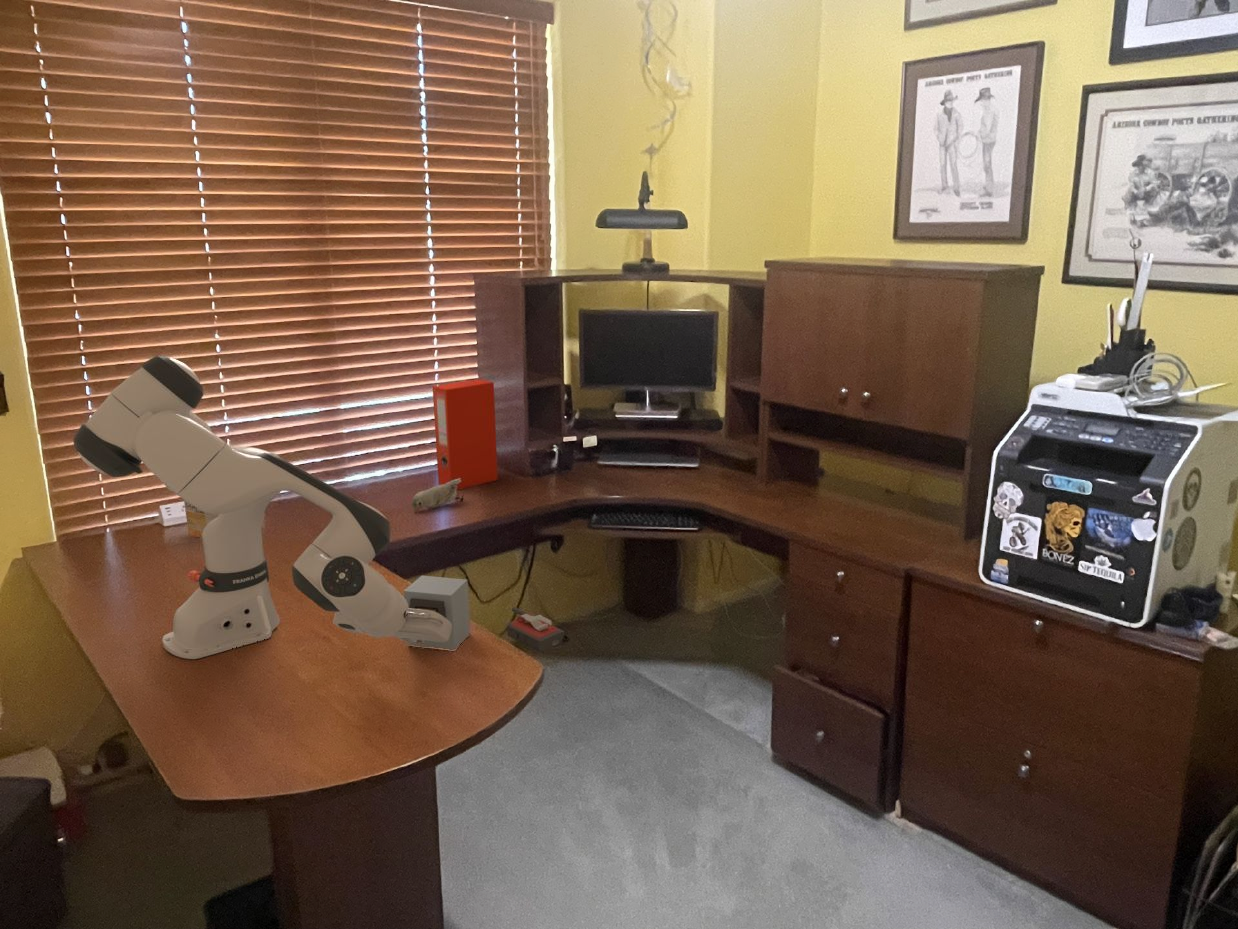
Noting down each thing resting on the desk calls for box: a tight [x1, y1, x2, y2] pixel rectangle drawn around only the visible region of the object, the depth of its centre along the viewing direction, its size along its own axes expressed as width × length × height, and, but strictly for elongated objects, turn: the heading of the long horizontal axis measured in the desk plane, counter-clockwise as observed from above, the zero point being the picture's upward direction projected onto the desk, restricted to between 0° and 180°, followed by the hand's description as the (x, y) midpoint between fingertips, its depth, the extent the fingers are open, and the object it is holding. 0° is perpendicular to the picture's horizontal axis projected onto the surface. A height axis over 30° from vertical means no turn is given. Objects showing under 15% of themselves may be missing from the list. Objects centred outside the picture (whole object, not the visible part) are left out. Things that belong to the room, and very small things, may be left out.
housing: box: [403, 575, 472, 650], centre depth 181 cm, size 9×10×12 cm
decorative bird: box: [411, 478, 464, 514], centre depth 266 cm, size 5×16×8 cm, turn 130°
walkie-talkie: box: [506, 606, 571, 653], centre depth 186 cm, size 9×4×20 cm
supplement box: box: [183, 499, 219, 539], centre depth 244 cm, size 8×5×13 cm, turn 62°
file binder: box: [432, 378, 499, 490], centre depth 286 cm, size 8×17×32 cm, turn 132°
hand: (410, 637), depth 171 cm, fingers closed, pressing on peg
